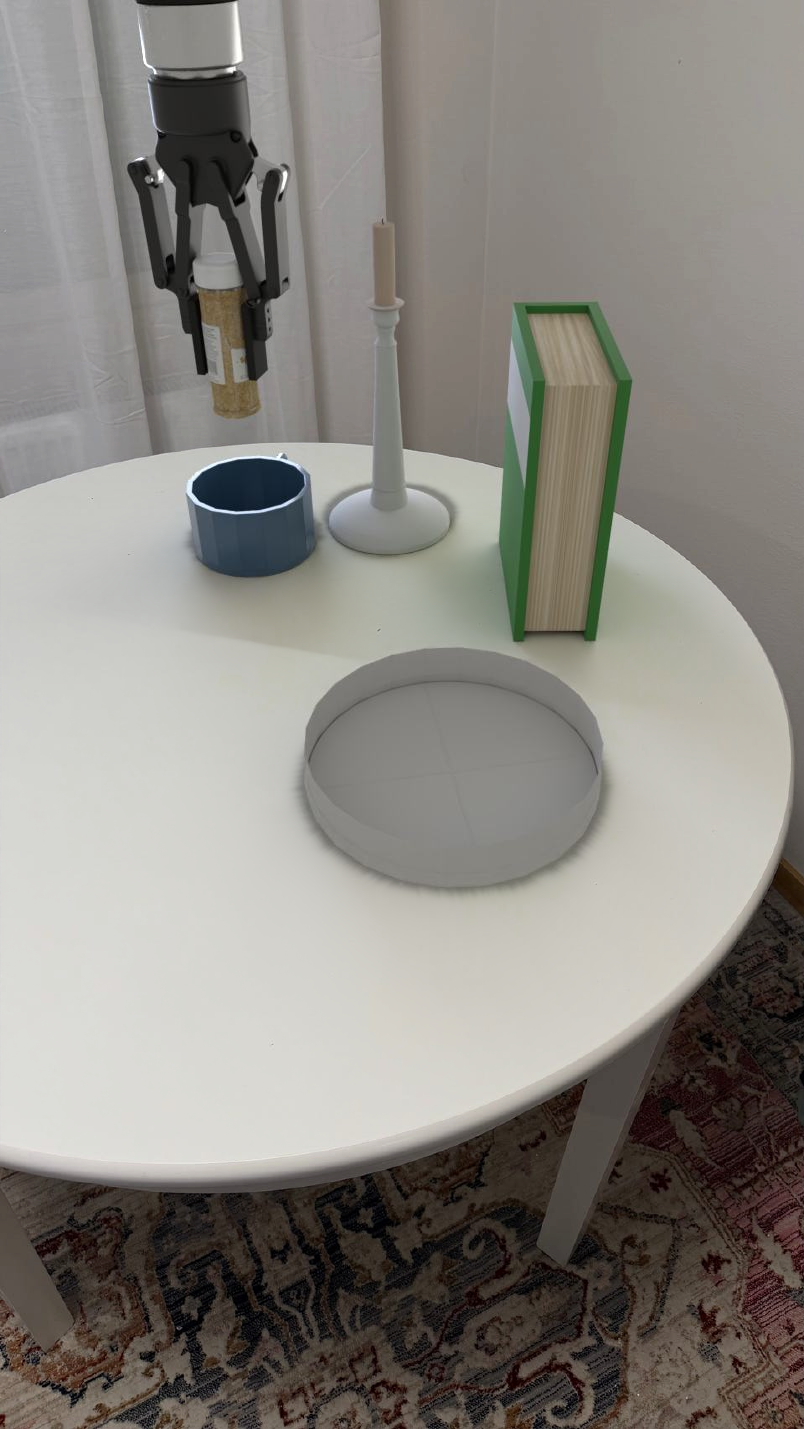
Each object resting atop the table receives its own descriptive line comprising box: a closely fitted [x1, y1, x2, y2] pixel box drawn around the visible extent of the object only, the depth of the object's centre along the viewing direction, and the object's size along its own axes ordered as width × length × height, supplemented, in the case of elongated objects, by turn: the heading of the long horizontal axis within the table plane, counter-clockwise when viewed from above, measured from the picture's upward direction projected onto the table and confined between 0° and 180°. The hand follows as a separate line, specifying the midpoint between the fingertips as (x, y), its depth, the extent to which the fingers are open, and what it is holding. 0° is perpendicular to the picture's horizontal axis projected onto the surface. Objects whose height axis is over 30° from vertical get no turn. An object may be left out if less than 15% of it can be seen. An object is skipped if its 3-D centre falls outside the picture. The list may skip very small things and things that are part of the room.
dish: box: [303, 647, 604, 888], centre depth 75 cm, size 22×22×5 cm
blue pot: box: [185, 452, 316, 578], centre depth 103 cm, size 15×12×7 cm
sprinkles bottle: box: [193, 251, 262, 420], centre depth 89 cm, size 5×5×14 cm
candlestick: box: [328, 218, 451, 555], centre depth 97 cm, size 13×13×30 cm
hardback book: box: [498, 301, 633, 642], centre depth 90 cm, size 18×7×24 cm, turn 0°
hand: (232, 371), depth 91 cm, fingers closed on sprinkles bottle, 4 cm apart
